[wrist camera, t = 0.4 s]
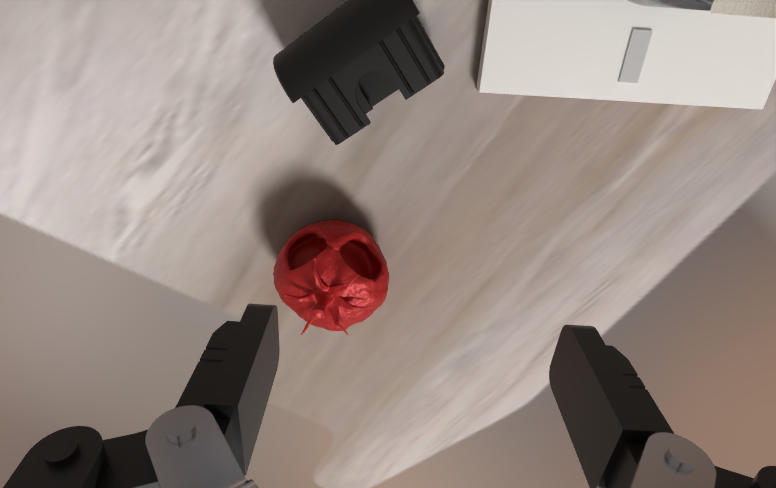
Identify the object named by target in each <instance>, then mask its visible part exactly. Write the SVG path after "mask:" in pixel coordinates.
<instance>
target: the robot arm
mask: <svg viewBox="0 0 776 488" xmlns="http://www.w3.org/2000/svg"><path fill="white" fill-rule="evenodd" d="M278 361H279V330H278V311H277V306H276V305H262V304H248V305H247V307H246V310H245V312H244V314H243V316H242V319H241V321H240V322H235V321H227V322H226V323H224V324H223V325H222V326H221V327H220V328H218V329H217V330H216V331H215V332H214V333H213V334H212V336H211V338H210V340H209V342H208V344H207V346H206V350H204V352H203V354H202V357H201V358H200V362H198V364H197V366H196V368H195V370H194V372H193V374H192V376H191V378H190V380H189V382H188V384H187V386H186V388H185V390H184V392H183V394H182V396H181V398H180V400H179V402H178V404H177V405H176V407H175V408H174V409H171V410H169V411H167V412H165V413H164V414H162V415H161V416H159V417H158V418H157V419H156V420H155V421H154V422H153V423H152V425H151V426H150V428H149V429H148V430H145V431H142V432H139V433H135V434H131V435H126V436H121V437H116V438H112V439H107V440H102V437H101V436H100V434H99V432H98V431H96V430H95V429H93V428H90V427H85V426H74V427H68V428H65V429H61V430H59V431H56V432H54V433H52V434H50V435H48V436H47V437H45V438H43V439H42V440H40V441H39V442H38V443H36V444H35V445H34V446H33V447H32V448H31V449H30V451H29V452H28V453H27V454H26V455H25V457H24V459H23V460H22V461H21V463H20V464H19V466H18V467H17V468H16V470H15V471H14V473H13V474H12V476H11V477H10V479H9V480H8V481H7V483H6V484H5V486H4V487H3V488H258V486H257V485H256V483H255V482H254V481H253V480H249V481H247V479H246V478H245V476H244V475H246V473H247V470H248V466H249V463H250V459H251V456H252V453H253V449H254V446H255V442H256V439H257V435H258V432H259V429H260V425H261V422H262V418H263V415H264V412H265V408H266V405H267V402H268V398H269V395H270V392H271V388H272V385H273V381H274V378H275V375H276V371H277V367H278ZM549 379H550V385H551V389H552V391H553V394H554V397H555V399H556V402H557V404H558V407H559V409H560V412H561V414H562V417H563V420H564V422H565V425H566V427H567V430H568V432H569V435H570V438H571V440H572V443H573V445H574V448H575V451H576V453H577V456H578V458H579V461H580V463H581V466H582V469H583V471H584V474H585V476H586V479H587V482H588V484H589V487H590V488H776V466H767V467H764V468H762V469H761V470H760V471H759V472H758V473H757V475H756V476H755V478H751V477H748V476H745V475H741V474H738V473H735V472H732V471H729V470H726V469H723V468H719V467H717V466H714V464H713V463H712V461H711V459H710V458H709V457H708V455H707V454H706V453H705V452H704V451H703V450H702V449H701V448H699V447H698V446H697V445H695V444H694V443H693V442H691V441H689V440H687V439H686V438H683V437H681V436H679V435H676V434H674V433H673V431H672V430H671V428H670V426H669V424H668V423H667V421H666V420H665V418H664V416H663V415H662V413H661V411H660V410H659V408H658V407H657V405H656V403H655V402H654V400H653V399H652V397H651V395H650V394H649V392H648V391H647V390H645V386H644V384H643V383H642V381H641V379H640V378H639V377H637V373H636V371H635V370H634V368H633V367H632V365H631V363H630V362H629V360H628V359H627V358H626V357H625V356H624V355H622V354H621V353H620V352H619V351H618V350H617V349H616V348H615V347H613V346H606V345H605V343H604V342H603V340H602V338H601V336H600V335H599V333H598V331H597V330H596V328H595V327H593V326H580V325H565V326H564V327H563V328H562V330H561V333H560V336H559V340H558V343H557V346H556V349H555V352H554V355H553V358H552V361H551V365H550V371H549Z"/></svg>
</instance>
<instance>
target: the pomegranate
mask: <svg viewBox="0 0 776 488" xmlns="http://www.w3.org/2000/svg"><path fill="white" fill-rule="evenodd" d="M273 275H274V284H275V288H276V290H277V291H278V293H279V296H280V298H281V299H282V301H283V302H284V303H285V304H286V305H287V306H288V307H290V308H291V309H292V310H293V311H295V312H296V313H297V314H298V316H299V317H301V318H302V319H304V320H305V321H306V322H308V323H307V324H306V326H305V328H304V330H303V332H302V334H303V333H304V332H305V331H306V329H307V328H308V327H309V325H310V324H311V325H314V326H317V327H321V328H324V329H327V330H331V331H344V332H345V333H346V334H347V332H346V330H345V329H347V328H348V327H350V326H351V325H353V324H355V323H359V322H362V321H363V320H365V319H366V318H368V317H369V316H370V315H371V314H372V313H373V312H374V311H375V310H376V309H377V308H378V307H379V306H381V305H382V303H383V302H384V300H385V298H386V295H387V291H388V281H389V272H388V268H387V263H386V260H385V258H384V256H383V254H382V252H381V250H380V248H379V246H378V244H376V242H375V240H374V239H373V237H372V236H371V235H370V234H369V233H368V232H367V231H366V230H364V229H363V228H361V227H359V226H357V225H354V224H351V223H349V222H345V221H339V220H331V221H330V220H328V221H322V222H317V223H313V224H310V225H308V226H305V227H303V228H302V229H300V230H299V231H297V232H296V233H295V234H293V235H292V236H291V237H290V238H289V239H288V241H287V242H286V243H285V245H284V246H283V247H282V249H281V250H280V252H279V254H278V256H277V260H276V264H275V266H274V273H273ZM302 334H301V335H302ZM347 335H348V334H347Z"/></svg>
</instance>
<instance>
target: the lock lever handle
mask: <svg viewBox="0 0 776 488" xmlns="http://www.w3.org/2000/svg"><path fill="white" fill-rule="evenodd" d="M695 1H697V2H700V3H704V4H710V5H712V7H711V10H710V13H714V14H726V15H739V16H752V17H764V18H776V0H695Z"/></svg>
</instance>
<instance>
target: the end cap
mask: <svg viewBox="0 0 776 488" xmlns="http://www.w3.org/2000/svg"><path fill="white" fill-rule="evenodd" d="M419 13H420V12H419V11H418V9H417V7H416V5H415V3H414V2H413V0H348V1H347V2H345V3H344V4H343V5H341V6H340V7H339V8H337V9H336V10H335V11H333V12H332V13H331V14H330V15H328V16H327V17H326V18H324V19H323V20H322V21H320V22H319V23H318V24H316V25H315V26H314V27H312V28H311V29H310V30H308V31H307V32H306V33H304V34H303V35H302V36H300V37H299V38H298V39H296V40H295V41H294V42H292V43H291V44H290V45H288V46H287V47H286V48H284V49H283V50H282V51H280V52H279V53H278V54H276V55H275V57H274V59H273V65H274V69H275V72H276V75H277V77H278V79H279V82H280V83H281V85H282V87H283V89H284V90H285V92H286V94H287V95H288V97H289V98H290V100H291V101H292V103H294V102H296V101H297V100H299V99H300V98H302V100H303V101H304V103H305V104H306V105H307V107H308V108H309V110H310V111H311V112H312V114H313V115H314V117H315V118H316V119H317V121H318V122H319V123H320V125H321V126H322V128H323V129H324V130H325V132H326V133H327V135H328V136H329V137H330V139H331V140H332V141H333V142H334V143H335V145H337V144H339V143H341V142H343V141H344V140H346V139H347V138H349V137H350V136H352V135H353V134H355V133H356V132H358V131H359V130H361V129H362V128H364V127H365V126H367V125H369V124H370V120H369V119H368V117H367V116H366V113H368V112H369V111H371V110H372V109H373V107H372V106H374V105H375V104H377V103H378V102H380V101H381V100H383V99H384V98H386V97H387V96H389V95H390V94H392V93H393V92H395V91H396V90H398V89H399V90H400V91H401V93H402V95H403V96H404V98H405V99H408V98H409V97H411V96H413V95H414V94H416V93H417V92H419V91H420V90H422V89H423V88H425V87H426V86H428V85H429V84H431V83H432V82H434V81H435V80H437V79H438V78H440V77H441V76H442V75H443V74H444V64H443V62H442V60H441V59H440V57H439V55H438V53H437V52H436V50H435V48H434V46H433V44H432V43H431V41H430V39H429V37H428V36H427V34H426V32H425V30H424V28H423V27H422V25H421V23H420V21H419V20H418V18H417V15H418V14H419Z"/></svg>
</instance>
